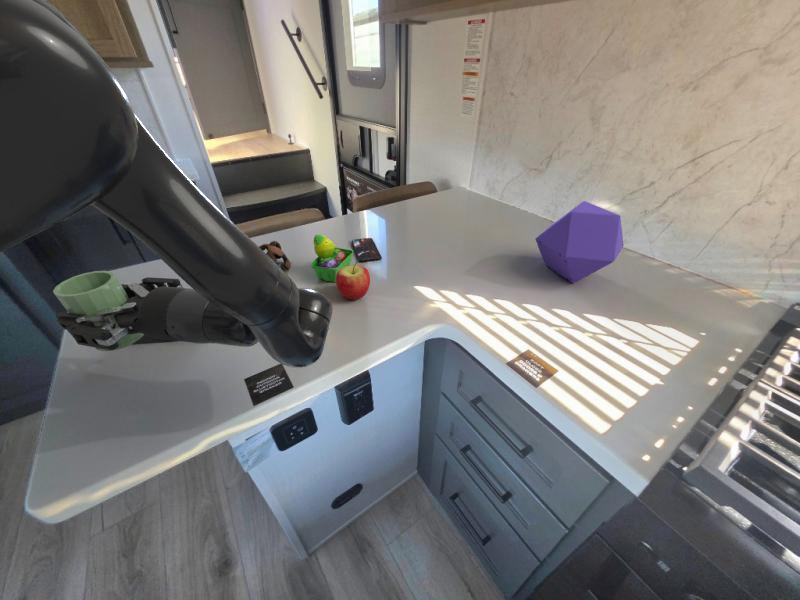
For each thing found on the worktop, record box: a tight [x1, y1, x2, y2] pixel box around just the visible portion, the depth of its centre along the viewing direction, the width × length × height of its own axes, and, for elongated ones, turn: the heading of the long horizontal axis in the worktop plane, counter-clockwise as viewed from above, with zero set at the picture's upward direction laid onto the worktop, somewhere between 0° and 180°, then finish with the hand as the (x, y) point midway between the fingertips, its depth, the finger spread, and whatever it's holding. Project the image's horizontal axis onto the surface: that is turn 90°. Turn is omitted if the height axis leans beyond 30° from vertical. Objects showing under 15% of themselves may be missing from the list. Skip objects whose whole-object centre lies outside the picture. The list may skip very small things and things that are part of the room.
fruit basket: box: [310, 234, 354, 283], centre depth 86 cm, size 11×9×11 cm
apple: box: [335, 259, 371, 300], centre depth 78 cm, size 8×8×10 cm
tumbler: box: [52, 270, 144, 352], centre depth 47 cm, size 7×7×10 cm
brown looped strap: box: [258, 240, 292, 271], centre depth 90 cm, size 12×10×8 cm
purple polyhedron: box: [535, 200, 625, 285], centre depth 87 cm, size 22×20×20 cm
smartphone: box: [351, 237, 383, 263], centre depth 101 cm, size 7×1×15 cm
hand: (87, 304), depth 46 cm, fingers closed on tumbler, 6 cm apart
